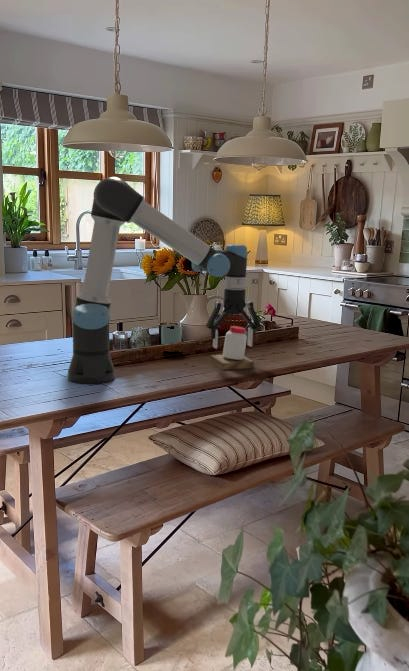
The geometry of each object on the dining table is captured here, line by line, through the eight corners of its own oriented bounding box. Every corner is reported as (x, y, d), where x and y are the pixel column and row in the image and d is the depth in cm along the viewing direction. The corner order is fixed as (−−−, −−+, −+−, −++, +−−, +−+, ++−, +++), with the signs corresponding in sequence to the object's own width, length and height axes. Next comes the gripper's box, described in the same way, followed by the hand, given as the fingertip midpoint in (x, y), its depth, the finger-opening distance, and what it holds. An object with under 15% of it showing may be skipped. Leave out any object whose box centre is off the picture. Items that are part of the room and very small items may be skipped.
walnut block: (222, 371, 215) (222, 363, 214) (210, 363, 226) (211, 355, 226) (253, 369, 219) (253, 361, 218) (240, 361, 230) (241, 353, 229)
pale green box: (178, 354, 235) (178, 329, 233) (158, 353, 236) (159, 327, 234) (182, 350, 242) (183, 325, 240) (164, 348, 244) (164, 324, 242)
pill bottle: (240, 355, 227) (245, 326, 225) (245, 360, 219) (251, 330, 217) (220, 353, 225) (225, 324, 223) (225, 358, 217) (230, 328, 216)
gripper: (205, 290, 209) (203, 350, 213) (271, 289, 217) (268, 347, 222) (198, 287, 216) (196, 345, 220) (262, 286, 224) (259, 342, 229)
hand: (232, 346), depth 221 cm, fingers open, 13 cm apart
